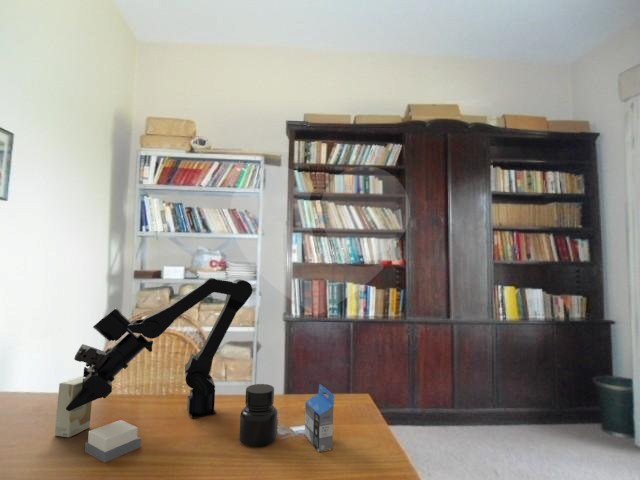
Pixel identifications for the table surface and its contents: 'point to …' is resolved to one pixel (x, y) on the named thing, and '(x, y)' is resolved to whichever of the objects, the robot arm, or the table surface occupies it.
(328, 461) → the table surface
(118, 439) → the tower top
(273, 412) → the ink bottle
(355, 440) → the table surface
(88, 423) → the skincare box
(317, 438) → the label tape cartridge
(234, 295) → the robot arm
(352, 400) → the table surface
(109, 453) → the tower bottom
